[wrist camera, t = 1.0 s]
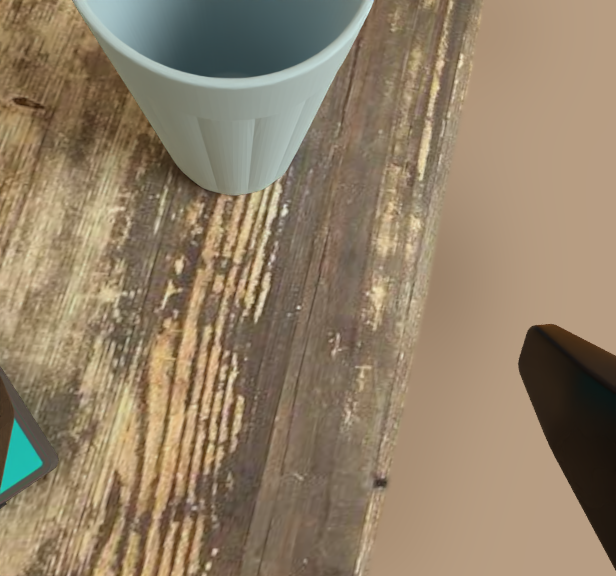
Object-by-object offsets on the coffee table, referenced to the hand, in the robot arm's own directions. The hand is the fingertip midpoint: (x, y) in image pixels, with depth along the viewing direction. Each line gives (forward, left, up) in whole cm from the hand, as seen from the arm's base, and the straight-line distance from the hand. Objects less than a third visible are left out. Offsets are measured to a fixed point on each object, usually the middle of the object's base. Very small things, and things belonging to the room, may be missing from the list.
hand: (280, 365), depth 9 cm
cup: (+9, -4, -13) cm, 16 cm away
